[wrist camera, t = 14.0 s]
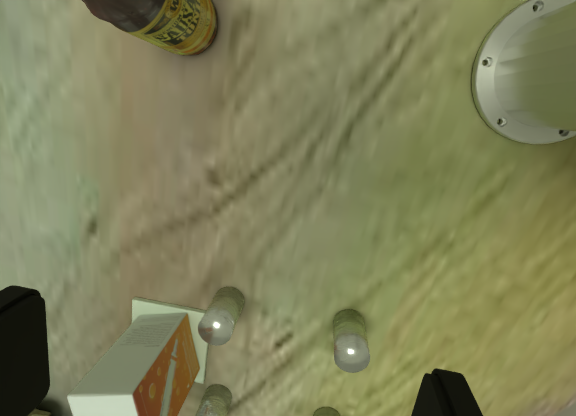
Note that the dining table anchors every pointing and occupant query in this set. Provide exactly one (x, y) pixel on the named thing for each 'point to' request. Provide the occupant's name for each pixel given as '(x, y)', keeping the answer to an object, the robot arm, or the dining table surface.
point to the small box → (141, 371)
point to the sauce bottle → (162, 21)
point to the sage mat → (194, 316)
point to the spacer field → (222, 321)
